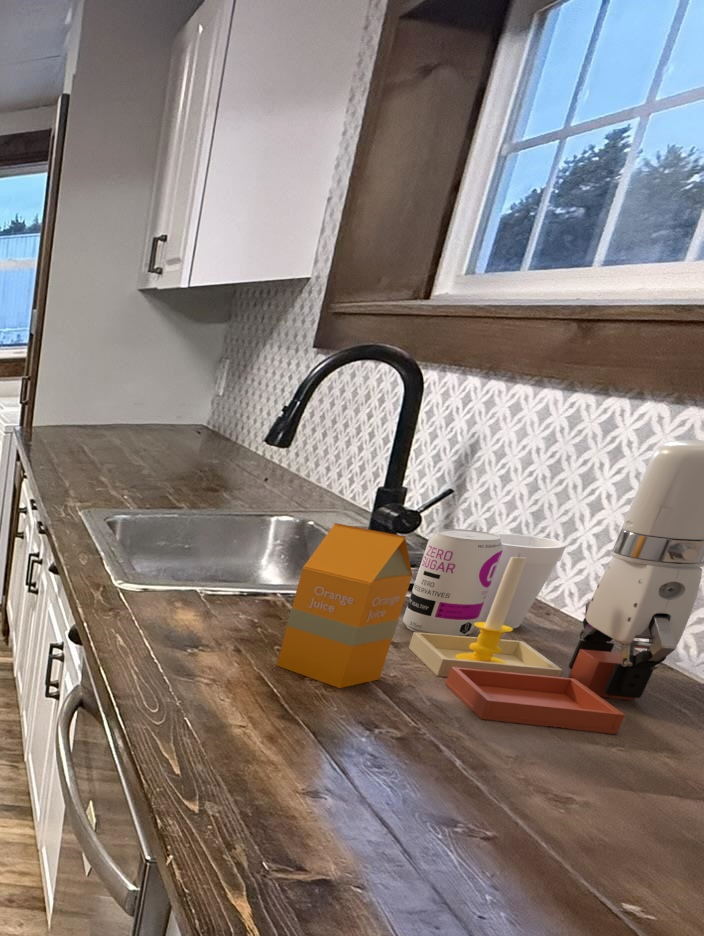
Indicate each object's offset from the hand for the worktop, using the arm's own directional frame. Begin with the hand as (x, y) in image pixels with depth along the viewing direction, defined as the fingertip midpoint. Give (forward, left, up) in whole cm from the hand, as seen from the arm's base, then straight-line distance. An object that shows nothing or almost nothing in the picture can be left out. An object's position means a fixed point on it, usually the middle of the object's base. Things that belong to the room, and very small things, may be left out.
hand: (602, 682), depth 105 cm
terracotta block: (0, 0, -1) cm, 1 cm away
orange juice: (+29, +3, -1) cm, 30 cm away
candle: (+10, -5, -1) cm, 12 cm away
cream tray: (+10, -5, -1) cm, 12 cm away
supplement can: (+10, -21, -1) cm, 23 cm away
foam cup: (+1, -28, -1) cm, 28 cm away
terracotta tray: (+10, +9, -1) cm, 14 cm away
